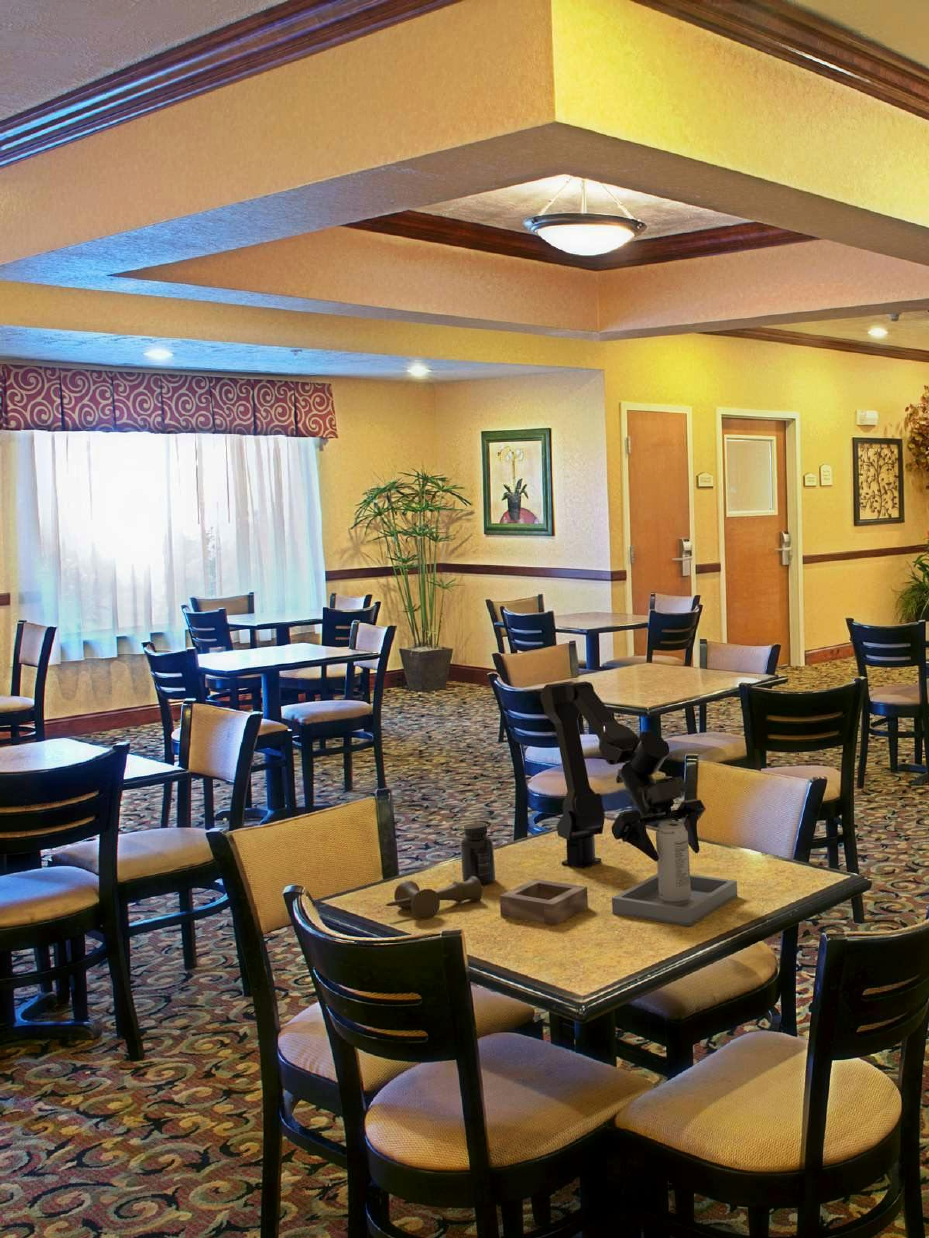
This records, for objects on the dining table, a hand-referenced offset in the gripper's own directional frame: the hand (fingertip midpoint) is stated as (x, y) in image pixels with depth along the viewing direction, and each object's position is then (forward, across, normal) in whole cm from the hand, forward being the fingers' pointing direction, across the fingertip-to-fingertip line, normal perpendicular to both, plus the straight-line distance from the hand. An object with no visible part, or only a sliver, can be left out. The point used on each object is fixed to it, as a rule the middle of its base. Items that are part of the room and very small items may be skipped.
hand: (677, 856), depth 235 cm
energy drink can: (+6, 0, +8) cm, 9 cm away
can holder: (-2, -22, +16) cm, 27 cm away
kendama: (-11, -39, +26) cm, 48 cm away
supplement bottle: (-19, -24, +34) cm, 46 cm away
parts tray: (+6, 0, +8) cm, 10 cm away
